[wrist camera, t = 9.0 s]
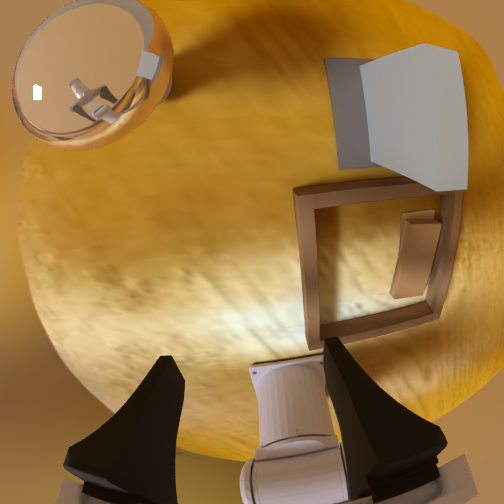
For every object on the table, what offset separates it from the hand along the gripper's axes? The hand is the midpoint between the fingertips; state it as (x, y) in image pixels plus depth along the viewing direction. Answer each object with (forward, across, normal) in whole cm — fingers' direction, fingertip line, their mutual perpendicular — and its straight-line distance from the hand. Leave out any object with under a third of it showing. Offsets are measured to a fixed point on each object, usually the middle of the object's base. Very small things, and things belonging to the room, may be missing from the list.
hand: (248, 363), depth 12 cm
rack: (+10, -11, +2) cm, 15 cm away
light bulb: (+10, +4, -14) cm, 18 cm away
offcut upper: (+10, -14, +2) cm, 18 cm away
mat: (+10, -11, -10) cm, 18 cm away
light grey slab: (+10, -11, -10) cm, 18 cm away
